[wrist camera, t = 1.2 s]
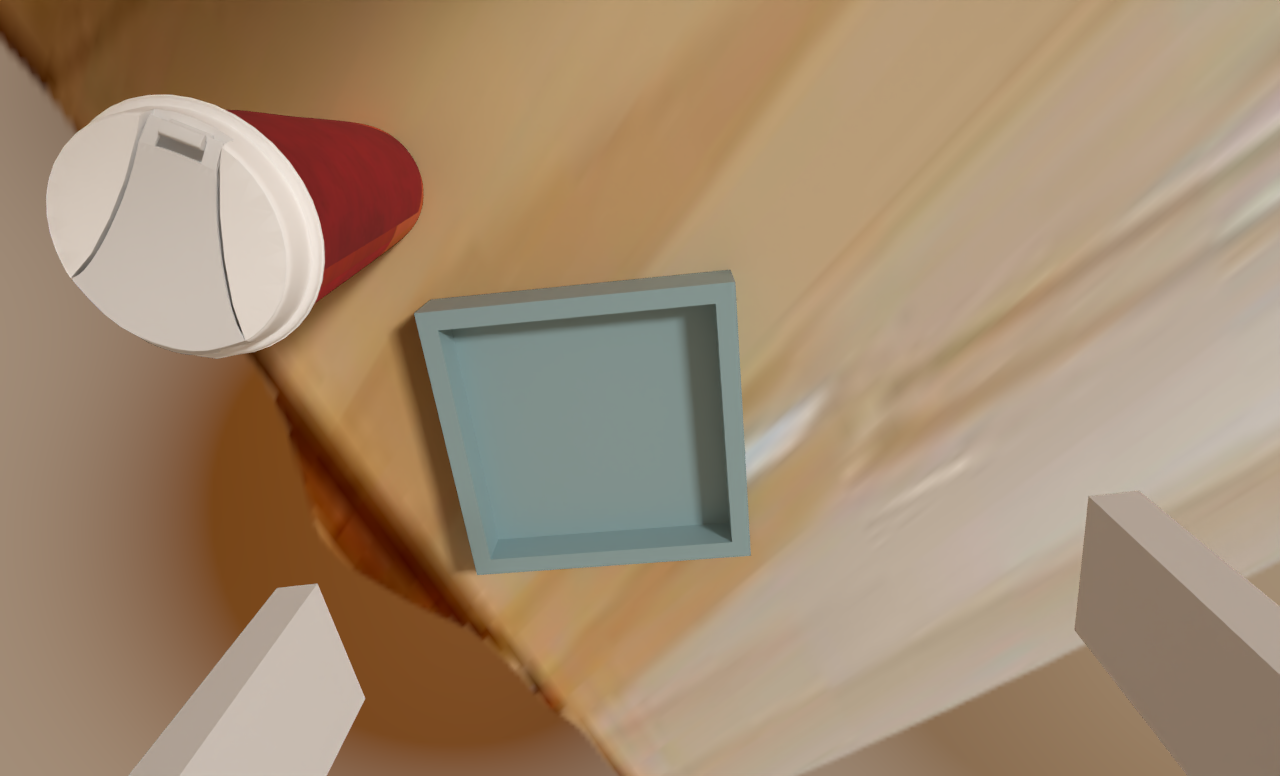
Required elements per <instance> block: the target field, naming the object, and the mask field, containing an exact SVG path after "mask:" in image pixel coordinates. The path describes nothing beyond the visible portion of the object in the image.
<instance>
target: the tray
mask: <svg viewBox="0 0 1280 776" xmlns="http://www.w3.org/2000/svg"><path fill="white" fill-rule="evenodd" d="M414 316H415V320H416V324H417V328H418V332H419V336H420V340H421V344H422V349H423V353H424V357H425V361H426V365H427V369H428V373H429V378H430V382H431V386H432V390H433V394H434V398H435V402H436V407H437V411H438V415H439V419H440V423H441V427H442V431H443V436H444V440H445V444H446V448H447V452H448V456H449V460H450V465H451V469H452V473H453V477H454V481H455V485H456V489H457V494H458V498H459V502H460V506H461V510H462V514H463V518H464V523H465V527H466V531H467V535H468V539H469V543H470V547H471V552H472V556H473V560H474V564H475V568H476V572H477V575H484V574H498V573H512V572H526V571H540V570H554V569H569V568H583V567H597V566H611V565H625V564H639V563H653V562H667V561H682V560H696V559H710V558H724V557H738V556H751V552H750V535H749V517H748V499H747V482H746V464H745V446H744V428H743V411H742V393H741V375H740V358H739V340H738V322H737V305H736V287H735V280H734V278H733V275H732V273H731V270H723V271H713V272H703V273H693V274H683V275H673V276H663V277H653V278H643V279H633V280H623V281H613V282H603V283H593V284H583V285H573V286H563V287H553V288H543V289H533V290H523V291H512V292H502V293H492V294H482V295H472V296H462V297H452V298H442V299H432V300H429V301H428V302H427V303H426V304H425V305H423V306H422V307H421V308H420V309H419V310H417V311H416V312H415V313H414Z"/></svg>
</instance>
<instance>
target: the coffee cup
mask: <svg viewBox="0 0 1280 776" xmlns="http://www.w3.org/2000/svg"><path fill="white" fill-rule="evenodd" d="M423 196H424V194H423V183H422V178H421V175H420V172H419V169H418V167H417V165H416V163H415V161H414V159H413V158H412V156H411V155H410V153H409V152H408V151H407V149H406V148H405V147H404V146H403V145H402V144H401V143H400V142H399V141H398V140H396V139H395V138H394V137H392V136H391V135H389V134H388V133H386V132H384V131H382V130H380V129H378V128H375V127H372V126H369V125H364V124H359V123H353V122H345V121H335V120H325V119H315V118H304V117H292V116H283V115H275V114H267V113H259V112H251V111H240V110H224V109H222V108H220V107H218V106H216V105H214V104H211V103H207V102H204V101H201V100H198V99H195V98H190V97H184V96H177V95H145V96H140V97H136V98H131V99H127V100H125V101H122V102H120V103H118V104H115V105H113V106H111V107H109V108H108V109H106V110H105V111H103V112H102V113H100V114H99V115H98V116H96V117H95V118H94V119H93V120H92V121H91V122H90V123H89V124H88V125H87V126H85V127H84V128H82V129H81V130H80V131H78V132H77V133H75V134H74V136H73V137H72V138H71V139H70V140H69V141H68V142H67V143H66V144H65V146H64V147H63V148H62V150H61V152H60V154H59V155H58V157H57V159H56V160H55V162H54V164H53V167H52V170H51V173H50V176H49V179H48V186H47V193H46V210H47V211H46V213H47V220H48V225H49V231H50V235H51V238H52V241H53V244H54V247H55V250H56V253H57V254H58V257H59V258H60V261H61V263H62V265H63V267H64V269H65V271H66V272H67V274H68V275H69V277H70V278H72V281H73V282H74V283H75V284H76V285H77V286H78V287H79V288H80V289H81V290H82V292H83V293H84V294H85V295H86V296H87V297H88V298H89V299H90V300H91V301H92V302H93V303H94V304H95V305H96V306H97V307H98V308H99V309H100V310H101V311H102V312H103V313H104V314H105V315H106V316H107V317H108V318H110V319H111V320H112V321H113V322H115V323H116V324H117V325H119V326H120V327H122V328H123V329H125V330H127V331H129V332H131V333H132V334H134V335H136V336H138V337H140V338H141V339H143V340H145V341H146V342H148V343H151V344H153V345H155V346H158V347H160V348H163V349H166V350H169V351H172V352H177V353H181V354H187V355H196V356H201V357H208V358H215V359H219V358H224V357H229V356H233V355H239V354H245V353H251V352H255V351H258V350H261V349H264V348H267V347H270V346H272V345H273V344H275V343H277V342H279V341H280V340H282V339H284V338H286V337H287V336H288V335H289V334H290V333H292V332H293V331H294V330H295V329H296V328H297V327H299V325H300V324H301V323H302V322H303V320H304V319H305V318H306V317H307V315H308V314H309V313H310V311H311V309H312V307H313V305H314V304H315V303H316V302H317V301H319V300H320V299H322V298H323V297H324V296H326V295H327V294H328V293H330V292H331V291H333V290H334V289H335V288H337V287H338V286H339V285H341V284H342V283H344V282H345V281H346V280H348V279H349V278H350V277H352V276H353V275H355V274H356V273H357V272H359V271H360V270H361V269H363V268H364V267H365V266H367V265H368V264H369V263H371V262H372V261H374V260H375V259H376V258H378V257H379V256H380V255H382V254H383V253H384V252H385V251H387V250H388V249H389V248H391V247H392V246H393V245H395V244H396V243H397V242H398V241H400V240H401V239H402V238H403V237H404V236H405V235H406V234H407V233H408V232H409V231H410V230H411V229H412V228H413V226H414V225H415V223H416V221H417V220H418V218H419V215H420V213H421V209H422V205H423Z"/></svg>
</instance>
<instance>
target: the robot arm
mask: <svg viewBox="0 0 1280 776" xmlns="http://www.w3.org/2000/svg"><path fill="white" fill-rule="evenodd" d="M1075 631H1076V632H1077V634H1078V635H1079V636H1080V638H1081V639H1082V640H1083V641H1084V643H1085V644H1086V645H1087V647H1088V648H1089V649H1090V650H1091V652H1092V653H1093V654H1094V656H1095V657H1096V658H1097V659H1098V661H1099V662H1100V663H1101V665H1102V666H1103V667H1104V669H1105V670H1106V671H1107V672H1108V674H1109V675H1110V676H1111V678H1112V679H1113V680H1114V681H1115V683H1116V684H1117V685H1118V687H1119V688H1120V689H1121V690H1122V692H1123V693H1124V694H1125V696H1126V697H1127V698H1128V700H1129V701H1130V702H1131V703H1132V705H1133V706H1134V707H1135V709H1136V710H1137V711H1138V712H1139V714H1140V715H1141V716H1142V718H1143V719H1144V720H1145V721H1146V723H1147V724H1148V725H1149V727H1150V728H1151V729H1152V730H1153V732H1154V733H1155V734H1156V736H1157V737H1158V738H1159V740H1160V741H1161V742H1162V743H1163V745H1164V746H1165V747H1166V749H1167V750H1168V751H1169V752H1170V754H1171V755H1172V756H1173V758H1174V759H1175V760H1176V761H1177V762H1178V764H1179V765H1180V767H1181V768H1182V769H1183V771H1184V772H1185V773H1186V774H1187V776H1280V606H1279V605H1277V604H1276V603H1275V602H1274V601H1272V600H1271V599H1270V598H1269V597H1268V596H1266V595H1265V594H1264V593H1263V592H1261V591H1260V590H1259V589H1258V588H1257V587H1255V586H1254V585H1253V584H1252V583H1251V582H1249V581H1248V580H1247V579H1246V578H1244V577H1243V576H1242V575H1241V574H1240V573H1238V572H1237V571H1236V570H1235V569H1234V568H1232V567H1231V566H1230V565H1229V564H1227V563H1226V562H1225V561H1224V560H1223V559H1221V558H1220V557H1219V556H1218V555H1217V554H1215V553H1214V552H1213V551H1212V550H1210V549H1209V548H1208V547H1207V546H1206V545H1204V544H1203V543H1202V542H1201V541H1199V540H1198V539H1197V538H1196V537H1195V536H1193V535H1192V534H1191V533H1190V532H1189V531H1187V530H1186V529H1185V528H1184V527H1182V526H1181V525H1180V524H1179V523H1178V522H1176V521H1175V520H1174V519H1173V518H1172V517H1170V516H1169V515H1168V514H1167V513H1165V512H1164V511H1163V510H1162V509H1161V508H1159V507H1158V506H1157V505H1156V504H1155V503H1153V502H1152V501H1151V500H1150V499H1148V498H1147V497H1146V496H1145V495H1144V494H1142V493H1141V492H1140V491H1131V492H1122V493H1113V494H1104V495H1096V496H1089V498H1088V507H1087V517H1086V526H1085V536H1084V545H1083V555H1082V564H1081V574H1080V583H1079V593H1078V602H1077V612H1076V621H1075ZM364 700H365V697H364V695H363V692H362V690H361V687H360V685H359V682H358V680H357V678H356V676H355V673H354V670H353V668H352V666H351V663H350V661H349V658H348V656H347V654H346V651H345V649H344V646H343V644H342V642H341V639H340V637H339V634H338V632H337V630H336V627H335V625H334V622H333V620H332V618H331V615H330V613H329V610H328V608H327V606H326V603H325V601H324V598H323V596H322V594H321V591H320V589H319V586H318V584H310V585H300V586H292V587H283V588H277V589H276V590H275V591H274V593H273V594H272V595H271V596H270V598H269V599H268V600H267V601H266V603H265V604H264V605H263V606H262V608H261V609H260V610H259V612H258V613H257V614H256V615H255V616H254V618H253V619H252V620H251V622H250V623H249V624H248V625H247V627H246V628H245V629H244V630H243V632H242V633H241V634H240V635H239V637H238V638H237V639H236V640H235V642H234V643H233V644H232V646H231V647H230V648H229V649H228V651H227V652H226V653H225V654H224V656H223V657H222V658H221V659H220V661H219V662H218V663H217V664H216V666H215V667H214V668H213V670H212V671H211V672H210V673H209V674H208V676H207V677H206V678H205V680H204V681H203V682H202V683H201V685H200V686H199V687H198V688H197V690H196V691H195V692H194V693H193V695H192V696H191V697H190V698H189V700H188V701H187V702H186V703H185V705H184V706H183V707H182V708H181V710H180V711H179V712H178V713H177V715H176V716H175V717H174V719H173V720H172V721H171V722H170V724H169V725H168V726H167V727H166V729H165V730H164V731H163V733H162V734H161V735H160V736H159V738H158V739H157V740H156V741H155V742H154V744H153V745H152V746H151V748H150V749H149V750H148V751H147V753H146V754H145V755H144V756H143V758H142V759H141V760H140V761H139V763H138V764H137V765H136V767H135V768H134V769H133V770H132V771H131V773H130V774H129V776H327V774H328V772H329V769H330V768H331V766H332V764H333V762H334V760H335V757H336V756H337V754H338V752H339V750H340V748H341V746H342V744H343V742H344V740H345V738H346V736H347V734H348V732H349V730H350V728H351V726H352V724H353V722H354V720H355V718H356V716H357V713H358V712H359V710H360V708H361V706H362V704H363V702H364Z"/></svg>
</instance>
